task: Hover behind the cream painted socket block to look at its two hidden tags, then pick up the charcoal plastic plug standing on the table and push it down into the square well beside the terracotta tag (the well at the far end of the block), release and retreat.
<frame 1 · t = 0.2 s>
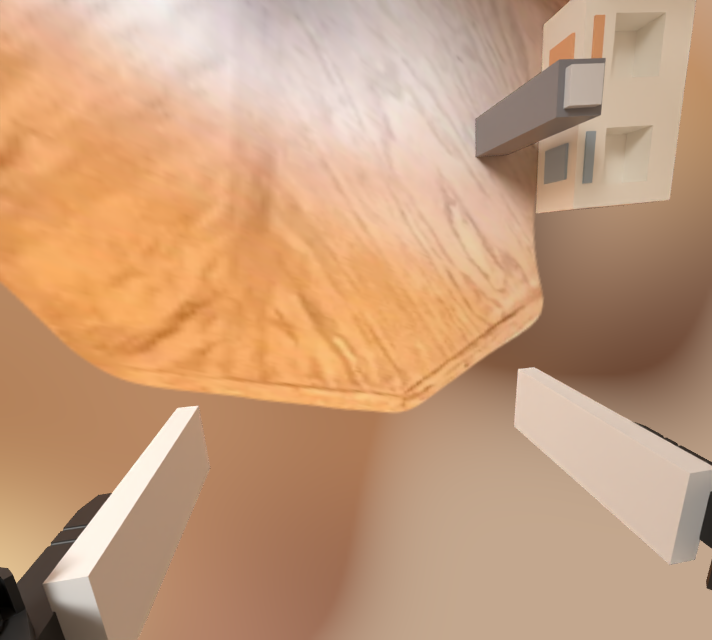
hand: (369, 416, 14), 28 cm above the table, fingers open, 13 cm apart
socket block: (585, 122, 40), on the table
plug: (491, 137, 39), on the table
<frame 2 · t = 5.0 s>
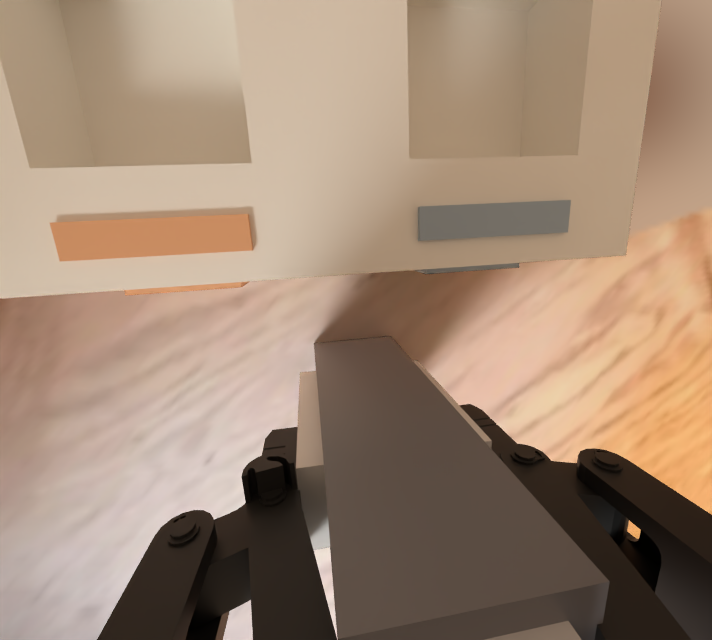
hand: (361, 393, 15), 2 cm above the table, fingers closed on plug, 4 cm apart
socket block: (317, 124, 15), on the table
plug: (354, 375, 18), on the table, touching gripper
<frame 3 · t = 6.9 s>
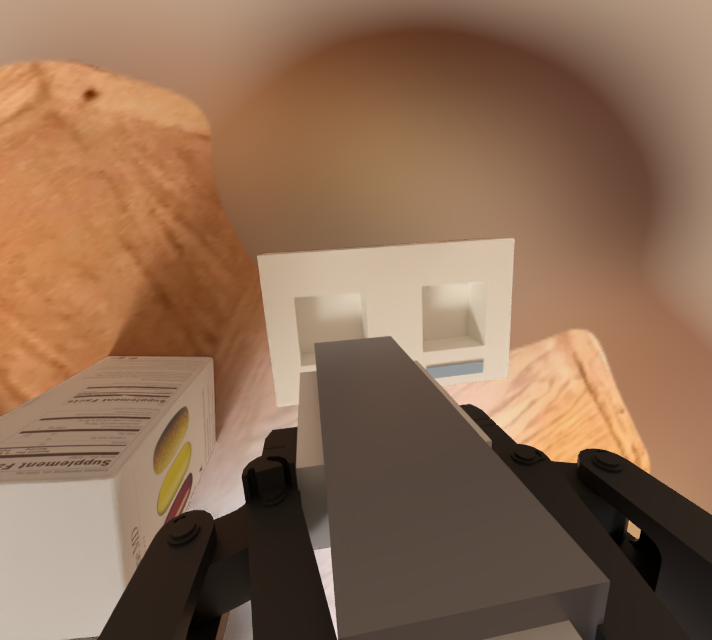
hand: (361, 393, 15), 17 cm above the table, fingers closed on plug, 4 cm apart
supplement box: (165, 400, 31), on the table
socket block: (379, 308, 32), on the table
plug: (355, 375, 18), point 15 cm above the table, touching gripper
when the fingers open (7 cm above the table, at t = 8.7 s): plug drops 2 cm, resting on socket block.
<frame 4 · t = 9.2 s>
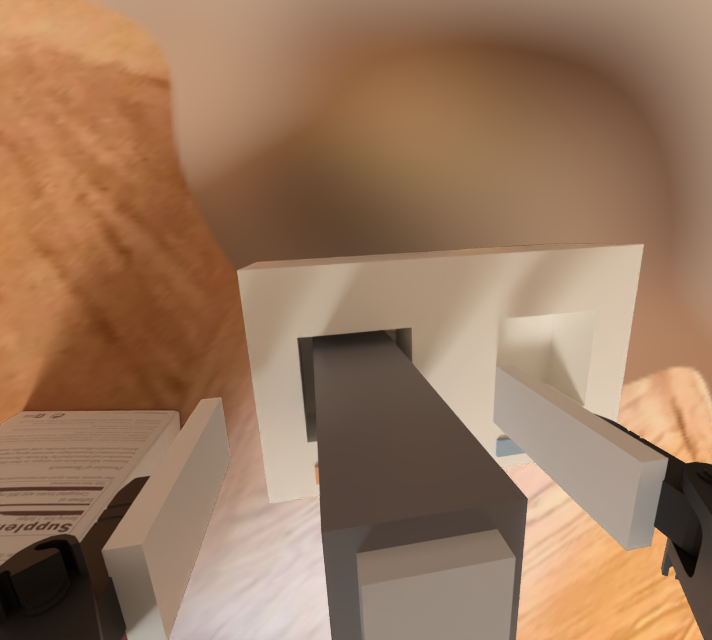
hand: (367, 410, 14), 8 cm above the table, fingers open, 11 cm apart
supplement box: (111, 470, 22), on the table
socket block: (417, 340, 23), on the table
plug: (349, 364, 19), point 3 cm above the table, touching socket block
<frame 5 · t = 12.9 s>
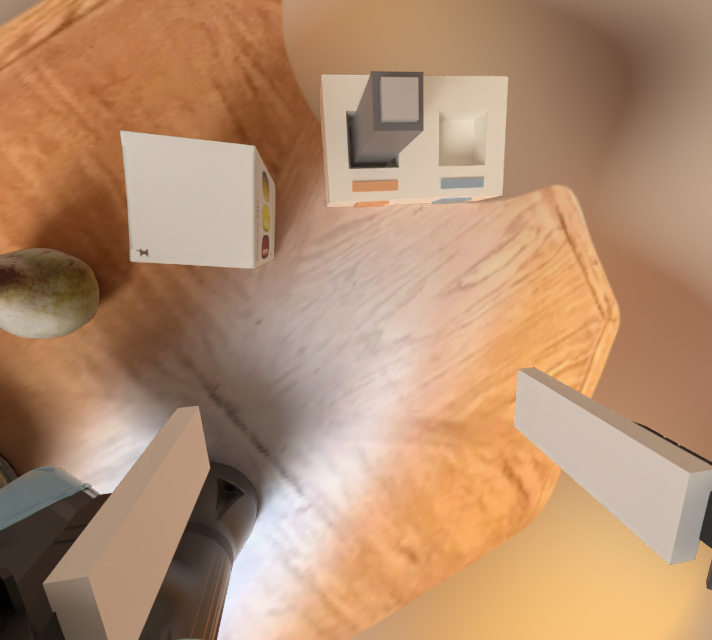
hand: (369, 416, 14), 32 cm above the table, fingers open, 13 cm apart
fruit: (73, 288, 40), on the table
supplement box: (237, 219, 41), on the table
socket block: (403, 153, 41), on the table
plug: (367, 147, 38), point 3 cm above the table, touching socket block
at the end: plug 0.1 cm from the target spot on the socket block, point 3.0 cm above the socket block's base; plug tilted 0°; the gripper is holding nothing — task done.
